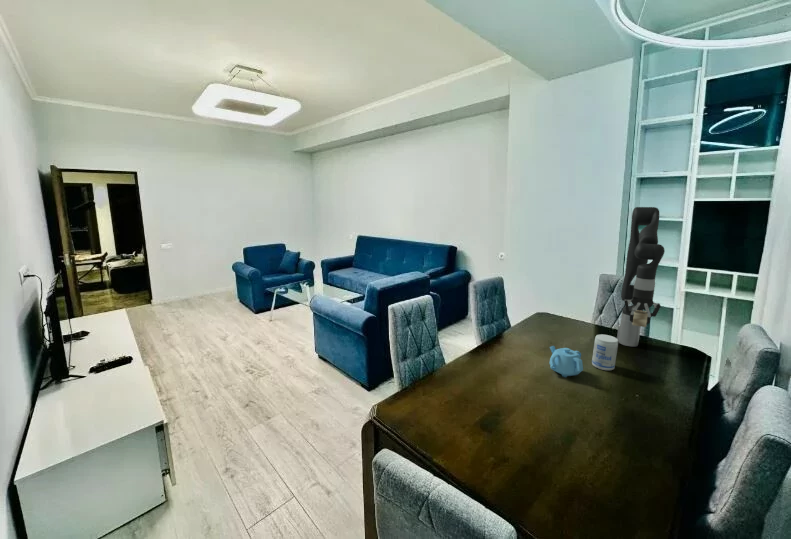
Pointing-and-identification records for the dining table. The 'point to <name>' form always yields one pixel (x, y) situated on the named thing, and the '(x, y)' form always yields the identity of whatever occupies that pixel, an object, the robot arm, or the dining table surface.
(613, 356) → the supplement tub
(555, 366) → the teapot
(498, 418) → the dining table surface
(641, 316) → the maple block
